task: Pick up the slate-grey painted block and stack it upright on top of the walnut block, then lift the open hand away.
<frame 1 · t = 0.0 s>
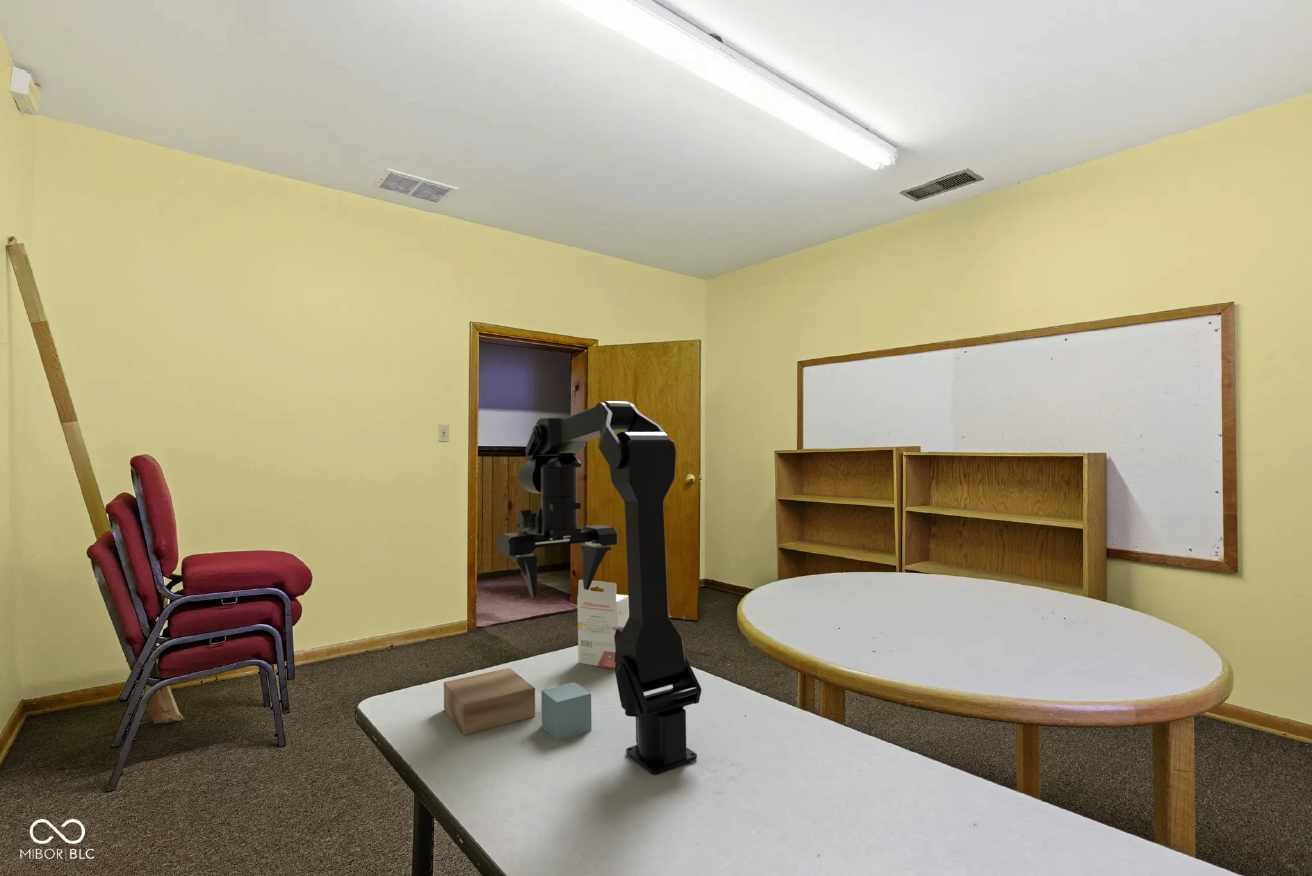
hand: (560, 593, 100), 15 cm above the table, tool pointing down, fingers open, 9 cm apart
walnut block: (488, 712, 90), on the table
slate block: (566, 729, 84), on the table
ink cartridge box: (605, 663, 110), on the table
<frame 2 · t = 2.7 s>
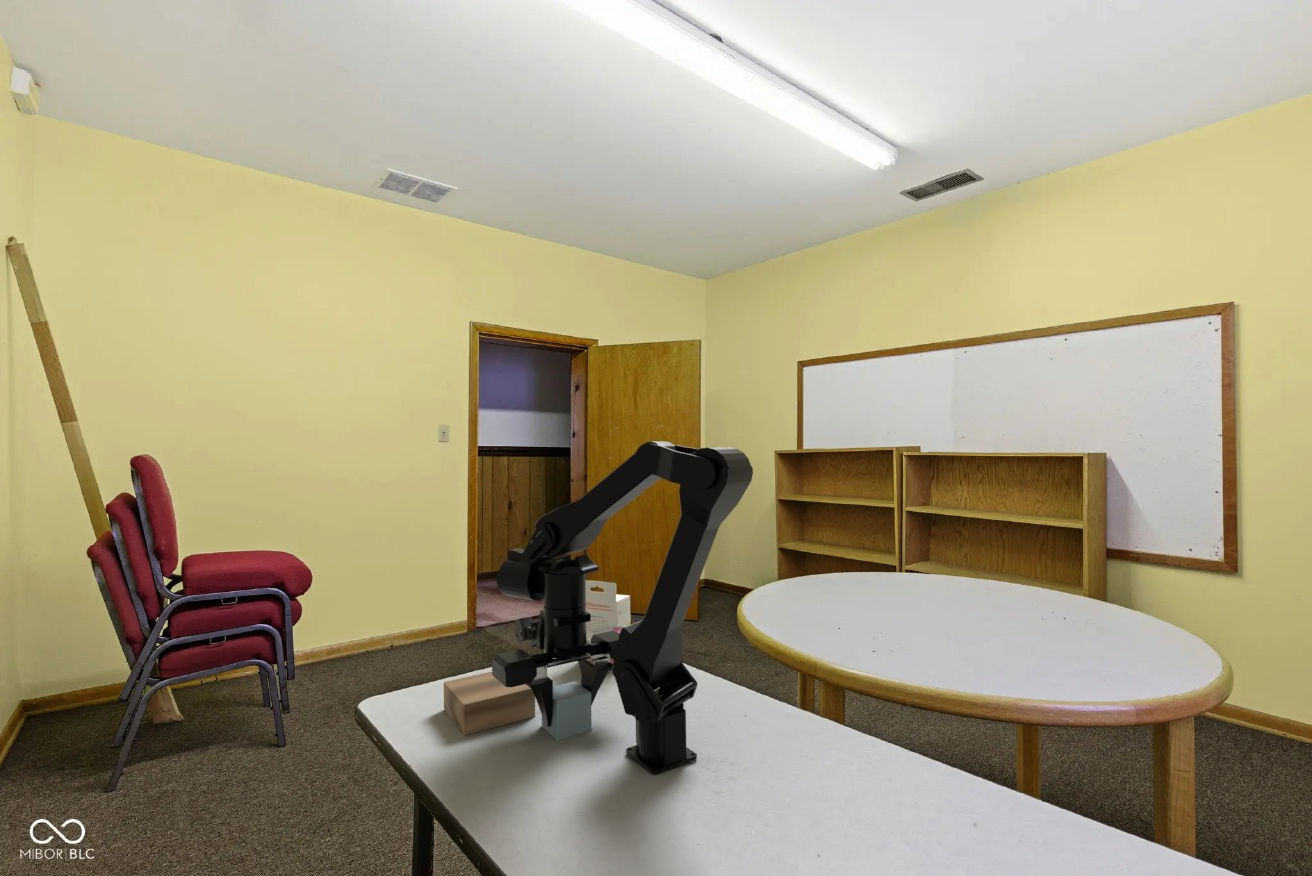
hand: (566, 720, 84), 1 cm above the table, tool pointing down, fingers closed on slate block, 5 cm apart
slate block: (566, 728, 84), on the table, touching gripper
everything else where it was.
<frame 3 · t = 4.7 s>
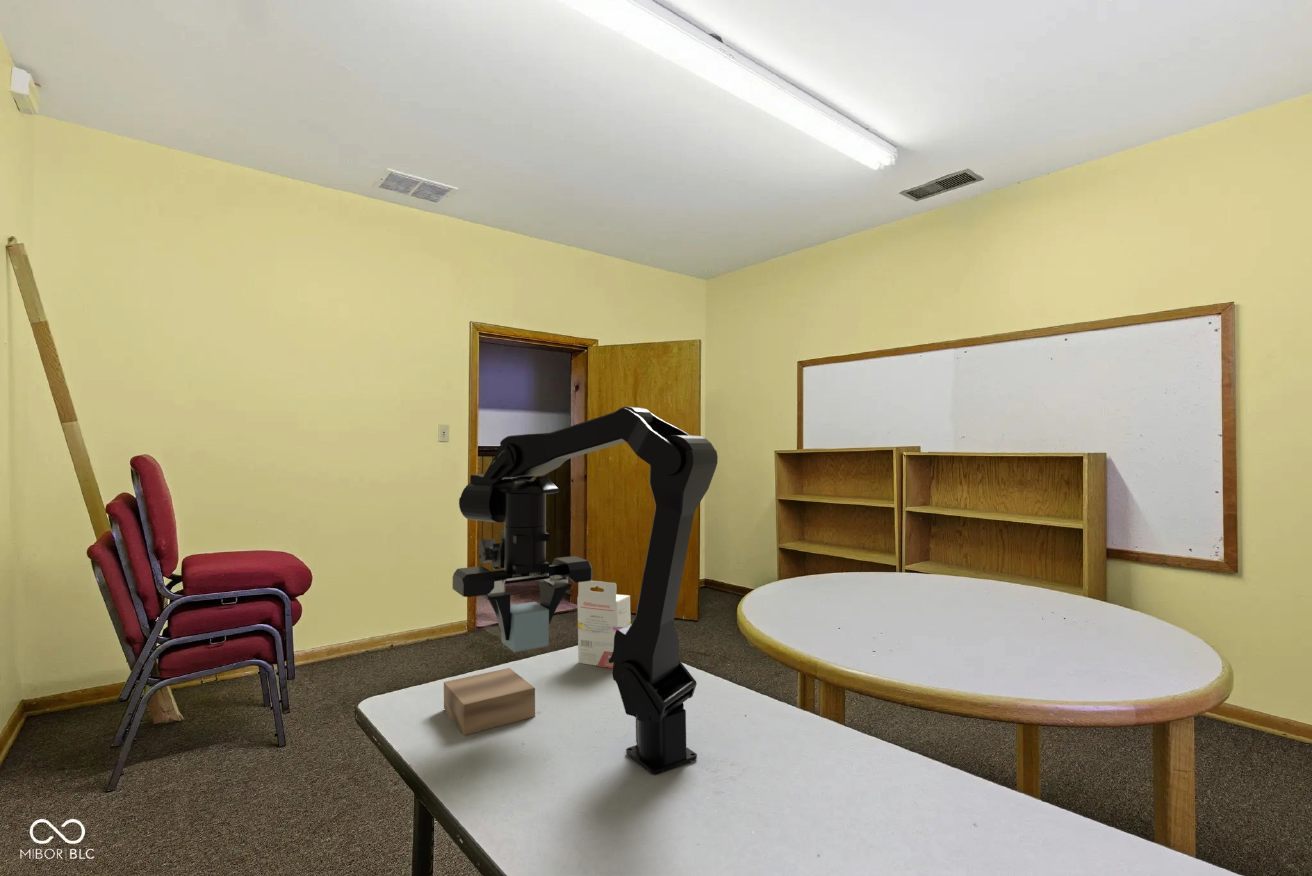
hand: (524, 636, 87), 12 cm above the table, tool pointing down, fingers closed on slate block, 5 cm apart
slate block: (524, 643, 87), point 11 cm above the table, touching gripper
everything else where it was.
when the fingers open (6 cm above the table, at t = 6.9 s): slate block drops 1 cm, resting on walnut block.
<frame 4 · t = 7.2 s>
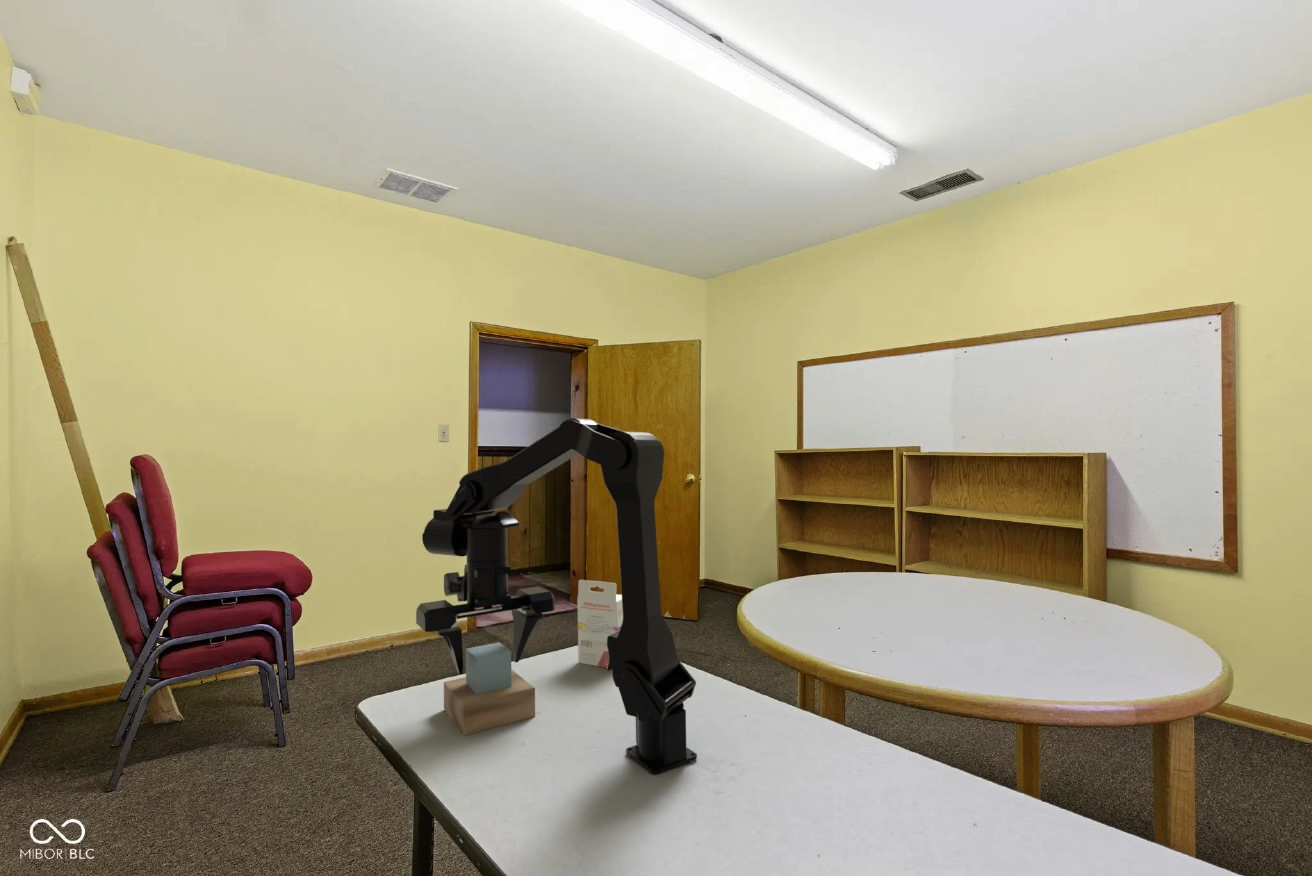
hand: (488, 667, 90), 6 cm above the table, tool pointing down, fingers open, 8 cm apart
slate block: (488, 684, 90), point 4 cm above the table, touching walnut block
everything else where it was.
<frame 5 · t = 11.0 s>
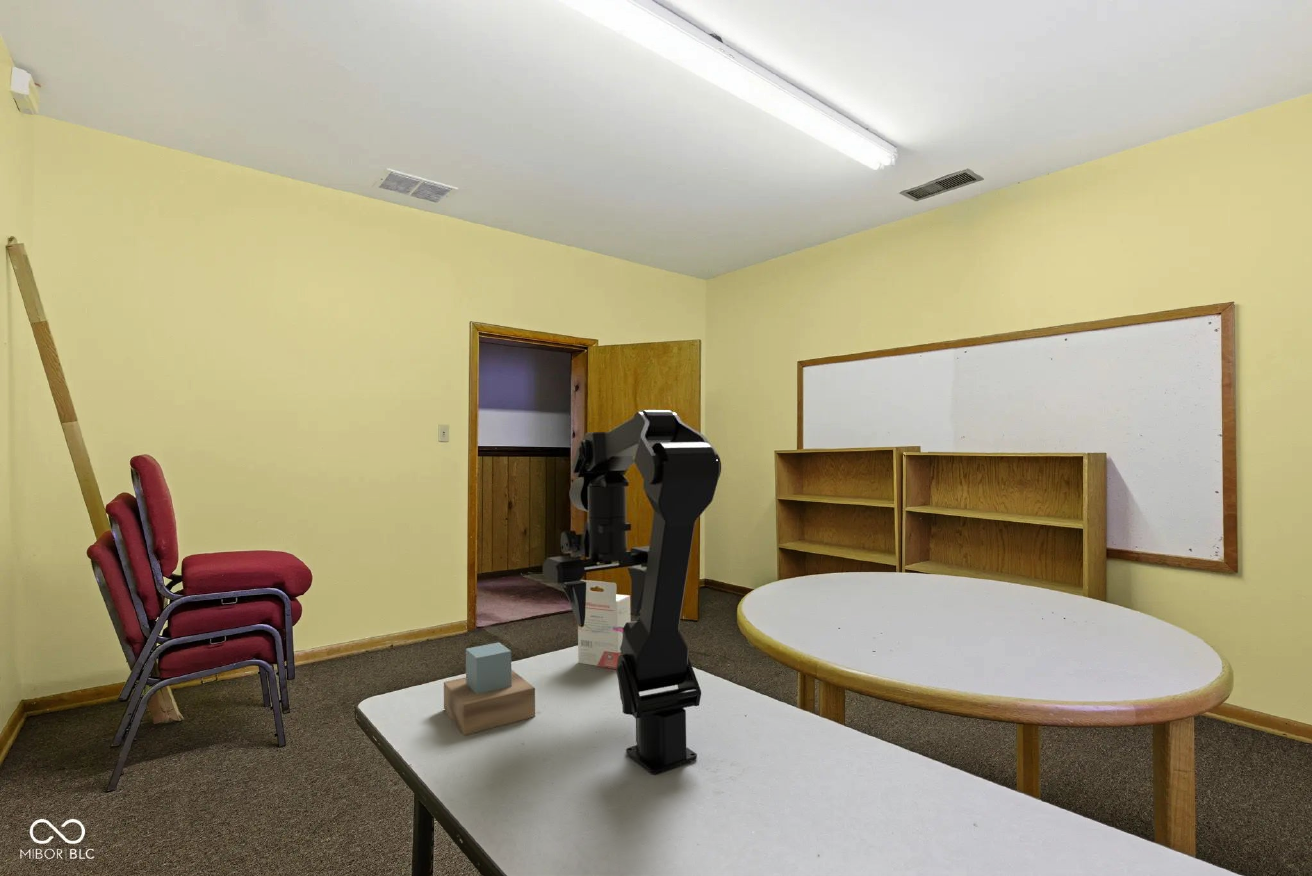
hand: (608, 621, 93), 12 cm above the table, tool pointing down, fingers open, 9 cm apart
nothing on the table moved.
at the end: slate block 0.0 cm off-centre on the walnut block, point 4.0 cm above the walnut block's base; slate block tilted 0°; the gripper is holding nothing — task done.
